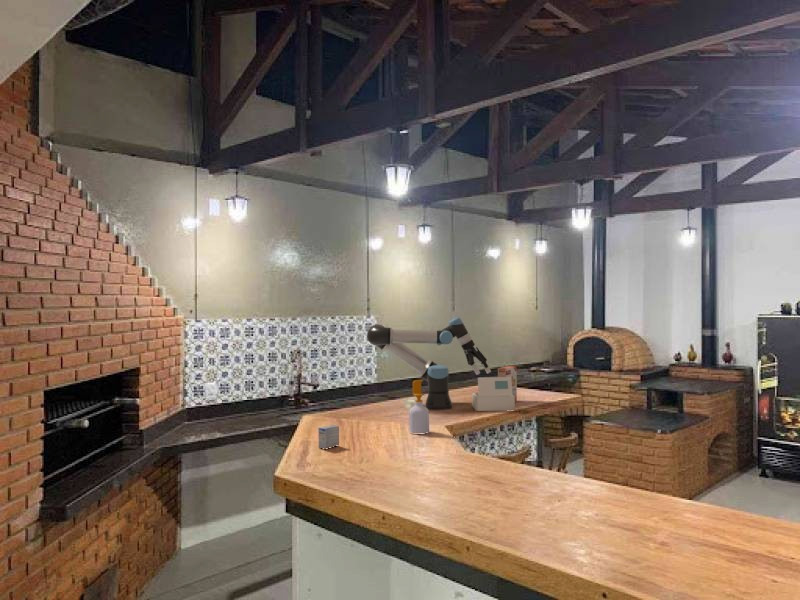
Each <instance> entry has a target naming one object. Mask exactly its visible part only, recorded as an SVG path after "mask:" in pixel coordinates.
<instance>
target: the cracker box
mask: <svg viewBox="0 0 800 600" xmlns="http://www.w3.org/2000/svg"><path fill="white" fill-rule="evenodd" d="M517 370H518V369H517V366H513V365H512V366H511V365H510V366H509V365H508V366H502V367H498V368H497V377H511V380H512V394H513V395H514V396H515V402H518V401H517V399H518V396H517V394H518V392H517V387H518V385H517V382H518V380H517V377H518V375H517V372H518V371H517Z"/></svg>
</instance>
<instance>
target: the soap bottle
mask: <svg viewBox="0 0 800 600" xmlns="http://www.w3.org/2000/svg"><path fill="white" fill-rule="evenodd" d="M423 381H424V379H415V380H413V381H412V395H414V396H415V398H416V400H415V401H414V404H415V405H413V406H412V407H411V408H410V409H409V411H408V412H409V413H408V415H409V416H408V417H409V420H408V422H409V423H408V425H409V433H410V432H412V433H426V432H429V433H430V411H429V410H430V409H427V408H426V407H425V405H423V400H422V399H421V398H422V397H423V396H425V394H424V393H423V392H422V382H423Z"/></svg>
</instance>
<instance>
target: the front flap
mask: <svg viewBox="0 0 800 600" xmlns="http://www.w3.org/2000/svg"><path fill="white" fill-rule="evenodd" d="M477 388H478V391H477V392H479V396H505V395H513V394H512V380H511V377H498V376H492V377H491V376H489V377H487V376H485V377H483V376H482V377H477Z"/></svg>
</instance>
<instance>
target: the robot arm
mask: <svg viewBox="0 0 800 600" xmlns="http://www.w3.org/2000/svg"><path fill="white" fill-rule="evenodd" d="M366 337H367V341H368V342H369V343H370V344H371V345H373V346H376V347H377V348H378V349H380V350H382V351H387V352H388V353H390V354H392V355H393V356H394V357H396V358H397V359H398V360H400V361H402V362H403V363H405V364H406V365H408V366H409V367H410V368H412V369H413V370H414V371H416V372H417V373H418V374H419V376H420V378H422V380H425V381H426V382H427V391H428V392H427V397H426V401H425V404H424V407H426V408H427V409H428V410H431V409H432V410H433V411H442V410H443V411H445V410H450V409H452V408H453V402H452V399H451V396H450V391H449V374H450V373H449V368H448V367H447V366H445V365H439V364H437V363H436V362H434V361H432V360H431V359H430V360H427V359H425V358H424V357H423V356H421V355H420V354H419V353H417V352H415V351H414V349H411V348H410V347H408V346H407V345H406V344H437V346H441V345H449V344H451V343H452V341H453V339H455V337H456V339H457V341H458V342H459V345H460V346H461V348H462V350H463V352H464V354H465V357H466V358H465V359H466V361H467V364H468V366H470V367H471V368H472V371H473V372H474V373H475V375H476V376H477V375H479V374H481V371H480V369H479V368H478V365H477V364H476V362H475V359H474V358H476V359H477V360H478V362H480V364H481V365H482V367H483V369H484V371H485V372H486V374H488V375H489V374H490V373H491V372H492V370H491V368H490V367H489V365H488V363H487V361H488V360H487V358H486V356H485V355H484V354H483V353H482V352H481V351H480V350H479V348H478V347H477V346H476V347H474V346H475V345H476V344H475V343H474V340H473V339H472V337H471V335H470V333H469V332H468V329H467V328H466V326H465V324H464V322H463V321H462V319H461V318H460V317H454V318H453V319H451V320H450V321H449V322H448V326H446V327H445V328H442V329H441V330H436V329H435V330H432V329H431V330H428V329H426V330H424V329H423V330H422V329H393V328H392V327H385V326H383V325H382V324H373V325H372V326H370V327H369V328H368V329H367V334H366ZM432 410H431V411H432Z"/></svg>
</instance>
